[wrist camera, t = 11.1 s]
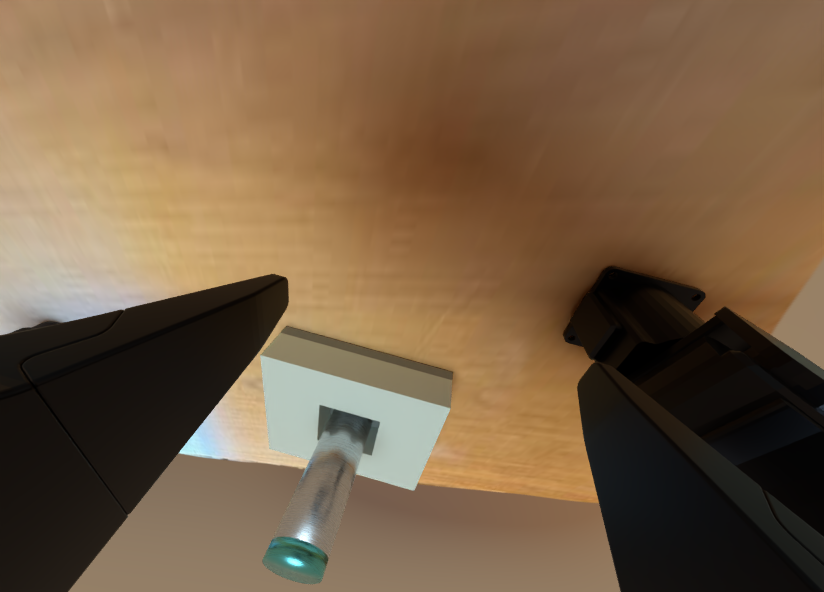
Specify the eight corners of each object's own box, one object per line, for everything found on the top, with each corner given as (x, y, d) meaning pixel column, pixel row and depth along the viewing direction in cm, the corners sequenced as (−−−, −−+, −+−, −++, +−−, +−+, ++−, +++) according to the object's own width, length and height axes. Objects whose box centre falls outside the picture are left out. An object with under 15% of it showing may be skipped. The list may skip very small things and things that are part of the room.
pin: (370, 390, 28) (307, 560, 17) (380, 418, 30) (330, 587, 19) (333, 391, 29) (251, 552, 18) (345, 418, 31) (278, 579, 20)
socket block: (452, 372, 27) (450, 408, 23) (419, 454, 34) (413, 490, 31) (286, 326, 27) (260, 355, 24) (288, 416, 35) (269, 448, 31)
